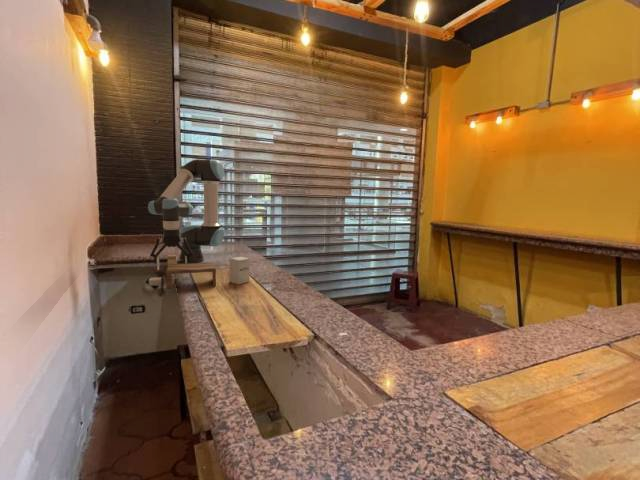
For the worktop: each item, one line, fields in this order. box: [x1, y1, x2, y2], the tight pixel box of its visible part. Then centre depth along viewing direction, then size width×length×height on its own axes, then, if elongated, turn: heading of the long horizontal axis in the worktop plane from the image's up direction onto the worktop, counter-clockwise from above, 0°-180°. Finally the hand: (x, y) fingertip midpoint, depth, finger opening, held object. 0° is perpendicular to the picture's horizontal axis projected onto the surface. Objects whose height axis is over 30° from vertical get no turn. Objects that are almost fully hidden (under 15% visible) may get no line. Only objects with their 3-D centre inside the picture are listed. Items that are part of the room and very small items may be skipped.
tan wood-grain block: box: [167, 254, 178, 287], centre depth 168 cm, size 17×4×12 cm, turn 18°
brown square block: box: [148, 276, 162, 287], centre depth 163 cm, size 5×5×3 cm
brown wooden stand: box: [165, 262, 217, 290], centre depth 165 cm, size 14×22×9 cm, turn 109°
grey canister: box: [229, 256, 250, 285], centre depth 172 cm, size 7×7×13 cm
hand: (172, 269), depth 174 cm, fingers open, 13 cm apart
